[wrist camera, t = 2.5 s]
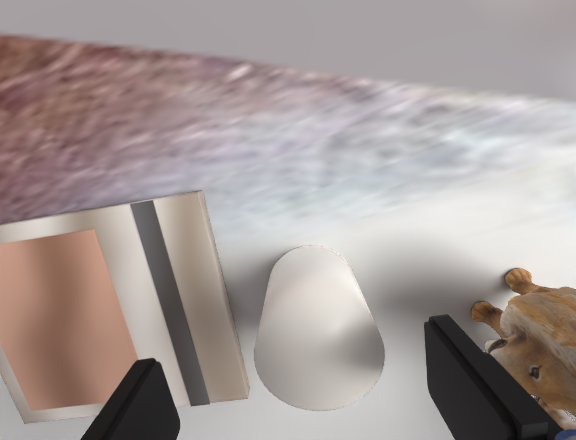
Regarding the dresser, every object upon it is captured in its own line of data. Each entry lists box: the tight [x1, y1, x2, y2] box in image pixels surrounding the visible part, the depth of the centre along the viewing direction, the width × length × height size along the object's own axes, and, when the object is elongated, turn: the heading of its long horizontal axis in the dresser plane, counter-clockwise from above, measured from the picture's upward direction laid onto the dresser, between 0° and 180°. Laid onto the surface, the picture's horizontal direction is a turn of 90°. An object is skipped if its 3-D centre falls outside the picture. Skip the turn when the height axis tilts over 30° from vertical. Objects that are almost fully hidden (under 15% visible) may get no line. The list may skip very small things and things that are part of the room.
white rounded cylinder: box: [254, 245, 385, 411], centre depth 14 cm, size 5×5×6 cm
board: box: [0, 191, 250, 424], centre depth 18 cm, size 15×13×1 cm
